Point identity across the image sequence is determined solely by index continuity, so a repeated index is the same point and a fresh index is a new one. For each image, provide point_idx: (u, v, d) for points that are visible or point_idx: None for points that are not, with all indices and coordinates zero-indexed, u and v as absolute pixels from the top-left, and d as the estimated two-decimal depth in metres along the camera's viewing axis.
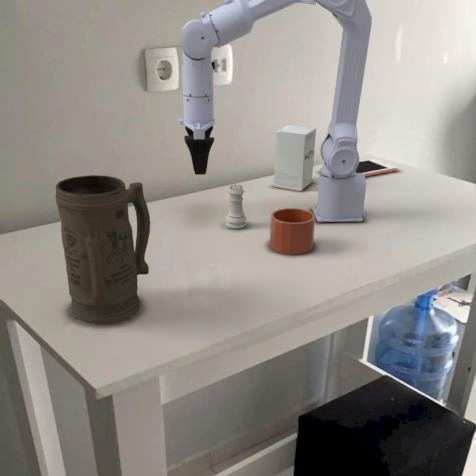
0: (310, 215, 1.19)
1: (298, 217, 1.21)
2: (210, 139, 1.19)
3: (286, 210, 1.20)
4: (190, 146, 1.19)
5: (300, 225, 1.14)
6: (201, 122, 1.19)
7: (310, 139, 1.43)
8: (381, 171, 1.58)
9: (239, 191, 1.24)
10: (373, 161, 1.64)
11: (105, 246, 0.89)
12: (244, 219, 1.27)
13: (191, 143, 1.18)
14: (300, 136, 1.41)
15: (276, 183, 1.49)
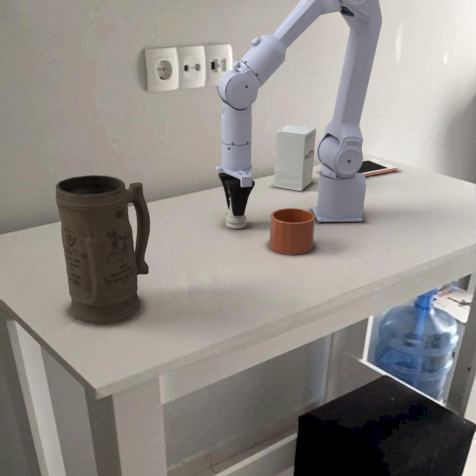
0: (310, 215, 1.19)
1: (298, 217, 1.21)
2: (251, 182, 1.21)
3: (286, 210, 1.20)
4: (232, 190, 1.21)
5: (300, 225, 1.14)
6: (242, 169, 1.20)
7: (310, 139, 1.43)
8: (381, 171, 1.58)
9: None
10: (373, 161, 1.64)
11: (106, 246, 0.89)
12: (244, 219, 1.27)
13: (234, 187, 1.20)
14: (300, 136, 1.41)
15: (276, 183, 1.49)
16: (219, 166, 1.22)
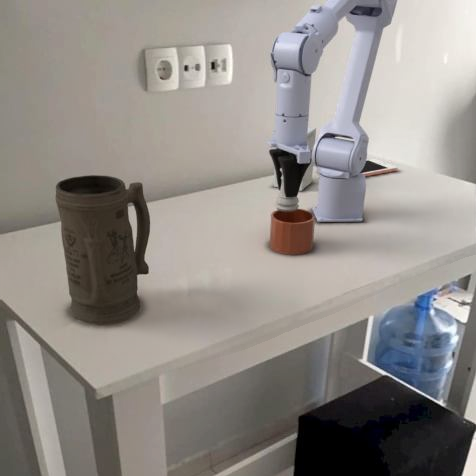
0: (310, 215, 1.19)
1: (298, 217, 1.21)
2: None
3: None
4: (287, 168, 1.09)
5: (300, 225, 1.14)
6: (299, 144, 1.08)
7: (310, 139, 1.43)
8: (381, 171, 1.58)
9: None
10: (373, 161, 1.64)
11: (106, 246, 0.89)
12: (297, 201, 1.16)
13: (289, 164, 1.09)
14: None
15: (276, 183, 1.49)
16: (272, 141, 1.10)
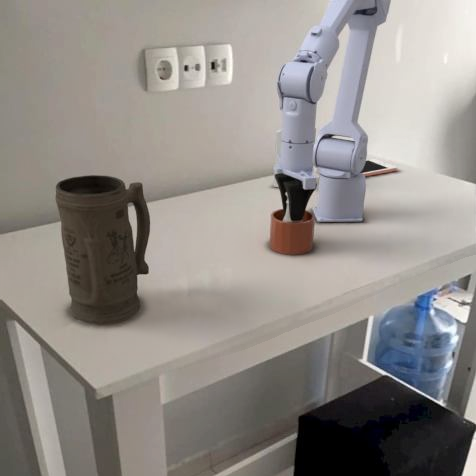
0: (310, 215, 1.19)
1: None
2: None
3: None
4: (293, 193, 1.11)
5: (300, 225, 1.14)
6: (304, 169, 1.10)
7: None
8: (381, 171, 1.58)
9: None
10: (373, 161, 1.64)
11: (106, 246, 0.89)
12: None
13: (294, 190, 1.10)
14: None
15: (276, 183, 1.49)
16: (278, 166, 1.11)
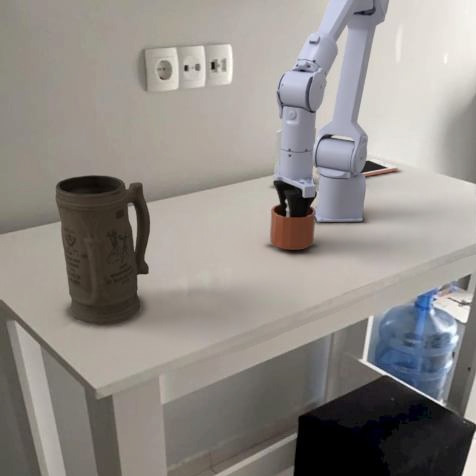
0: (311, 210, 1.18)
1: None
2: None
3: None
4: (293, 201, 1.11)
5: (301, 220, 1.14)
6: (303, 177, 1.11)
7: None
8: (381, 171, 1.58)
9: None
10: (373, 161, 1.64)
11: (106, 246, 0.89)
12: None
13: (295, 198, 1.11)
14: None
15: None
16: (277, 174, 1.12)
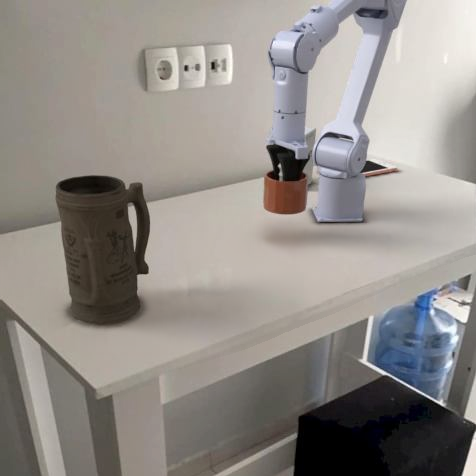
0: (304, 175, 1.18)
1: None
2: None
3: None
4: (286, 164, 1.11)
5: (294, 183, 1.14)
6: (296, 140, 1.11)
7: (310, 139, 1.43)
8: (381, 171, 1.58)
9: None
10: (373, 161, 1.64)
11: (106, 246, 0.89)
12: None
13: (288, 161, 1.11)
14: None
15: None
16: (270, 137, 1.12)
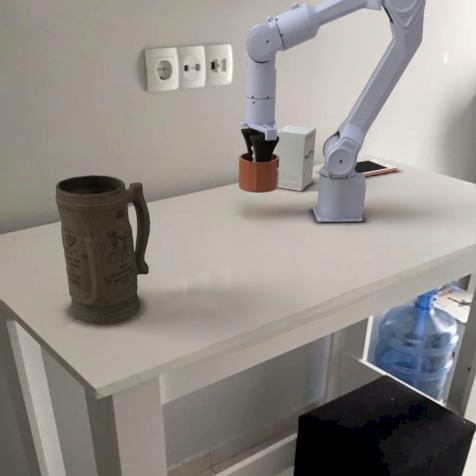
0: (275, 157, 1.29)
1: None
2: (276, 137, 1.23)
3: None
4: (257, 145, 1.23)
5: (265, 164, 1.25)
6: (267, 123, 1.22)
7: (310, 139, 1.43)
8: (381, 171, 1.58)
9: None
10: (373, 161, 1.64)
11: (106, 246, 0.89)
12: None
13: (259, 142, 1.22)
14: (300, 136, 1.41)
15: None
16: (243, 121, 1.24)
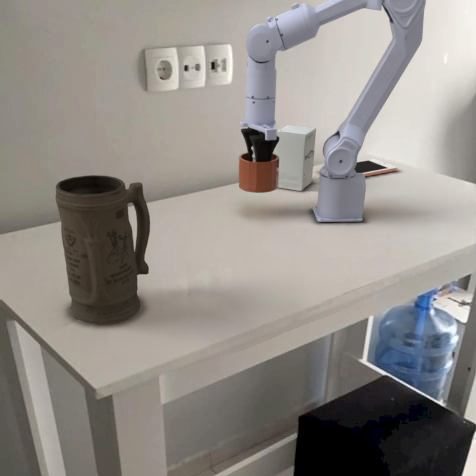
0: (275, 157, 1.29)
1: None
2: (276, 137, 1.23)
3: None
4: (257, 145, 1.23)
5: (265, 164, 1.25)
6: (267, 123, 1.22)
7: (310, 139, 1.43)
8: (381, 171, 1.58)
9: None
10: (373, 161, 1.64)
11: (106, 246, 0.89)
12: None
13: (259, 142, 1.22)
14: (300, 136, 1.41)
15: None
16: (243, 121, 1.24)
